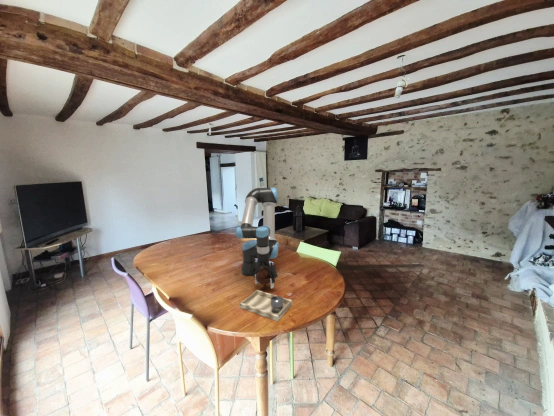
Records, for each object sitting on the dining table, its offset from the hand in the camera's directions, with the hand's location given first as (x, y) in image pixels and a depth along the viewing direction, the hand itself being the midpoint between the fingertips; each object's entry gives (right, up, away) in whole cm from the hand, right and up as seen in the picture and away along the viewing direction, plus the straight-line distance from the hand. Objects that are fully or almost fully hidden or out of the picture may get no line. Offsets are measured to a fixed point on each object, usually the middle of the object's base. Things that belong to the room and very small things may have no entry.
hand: (264, 285), depth 142 cm
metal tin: (+8, -6, -22) cm, 24 cm away
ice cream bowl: (0, -3, +1) cm, 3 cm away
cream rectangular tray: (+2, -6, -18) cm, 19 cm away
